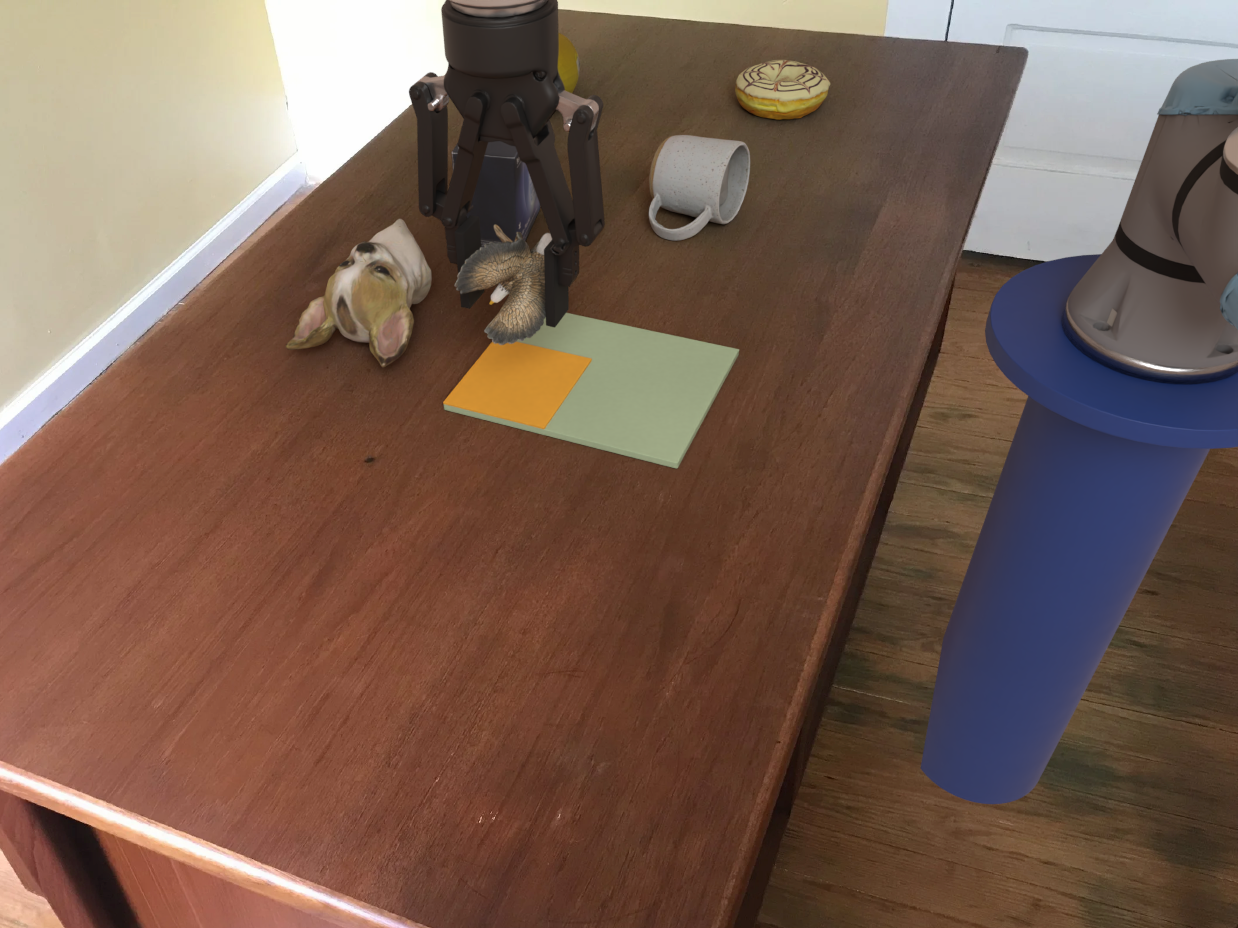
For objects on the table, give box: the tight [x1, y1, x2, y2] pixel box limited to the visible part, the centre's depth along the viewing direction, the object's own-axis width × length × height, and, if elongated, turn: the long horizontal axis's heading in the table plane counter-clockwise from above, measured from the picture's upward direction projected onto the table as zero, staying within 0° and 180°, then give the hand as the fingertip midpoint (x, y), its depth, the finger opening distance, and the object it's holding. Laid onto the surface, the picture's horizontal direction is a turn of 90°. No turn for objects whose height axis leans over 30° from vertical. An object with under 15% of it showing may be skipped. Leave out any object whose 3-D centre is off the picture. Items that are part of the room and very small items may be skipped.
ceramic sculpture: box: [285, 218, 433, 368], centre depth 96 cm, size 11×9×15 cm
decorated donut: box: [734, 59, 831, 121], centre depth 127 cm, size 10×11×4 cm
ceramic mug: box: [648, 134, 751, 242], centre depth 108 cm, size 11×8×8 cm
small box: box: [451, 141, 541, 247], centre depth 107 cm, size 11×6×10 cm, turn 167°
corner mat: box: [442, 312, 740, 470], centre depth 91 cm, size 20×16×1 cm
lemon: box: [558, 32, 581, 94], centre depth 129 cm, size 11×8×8 cm
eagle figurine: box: [453, 224, 552, 345], centre depth 84 cm, size 8×7×9 cm
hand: (514, 307), depth 86 cm, fingers closed on eagle figurine, 7 cm apart
